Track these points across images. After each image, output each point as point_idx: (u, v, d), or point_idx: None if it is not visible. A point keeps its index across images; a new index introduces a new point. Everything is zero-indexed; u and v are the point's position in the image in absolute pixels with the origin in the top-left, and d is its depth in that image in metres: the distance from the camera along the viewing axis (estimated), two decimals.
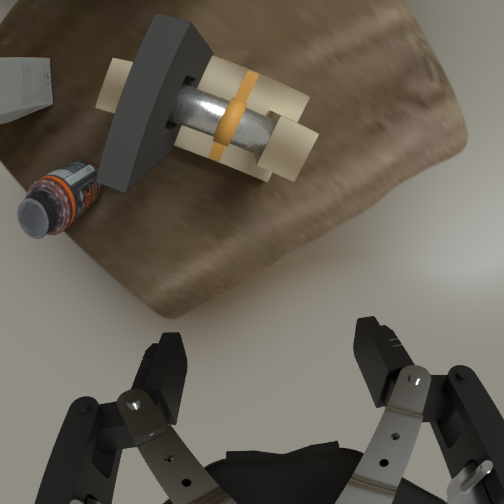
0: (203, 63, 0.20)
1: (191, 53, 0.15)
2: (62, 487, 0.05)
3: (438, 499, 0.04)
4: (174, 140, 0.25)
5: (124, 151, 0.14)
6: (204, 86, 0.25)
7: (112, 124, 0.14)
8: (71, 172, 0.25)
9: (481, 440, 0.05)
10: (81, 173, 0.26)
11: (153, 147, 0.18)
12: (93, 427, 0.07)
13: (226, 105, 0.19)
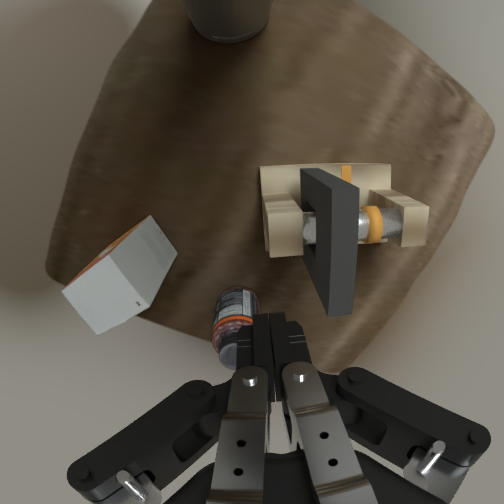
0: None
1: None
2: (123, 455, 0.06)
3: (438, 499, 0.04)
4: None
5: (345, 290, 0.22)
6: None
7: (331, 277, 0.21)
8: (240, 304, 0.35)
9: (415, 428, 0.07)
10: (246, 301, 0.36)
11: None
12: (193, 416, 0.08)
13: (367, 216, 0.26)
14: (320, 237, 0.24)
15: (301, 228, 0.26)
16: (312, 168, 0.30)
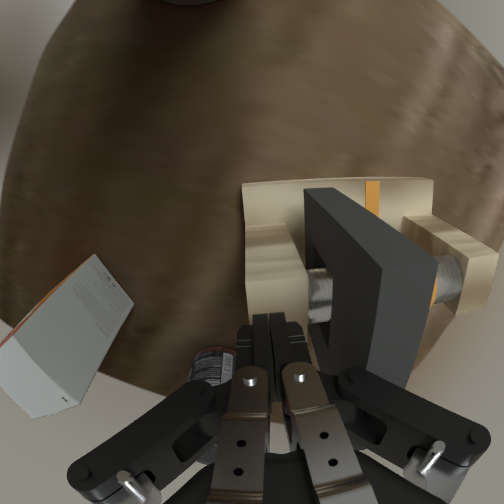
0: None
1: None
2: (123, 455, 0.06)
3: (438, 499, 0.04)
4: None
5: None
6: None
7: None
8: (217, 379, 0.24)
9: (415, 428, 0.07)
10: (226, 373, 0.25)
11: None
12: (194, 416, 0.08)
13: None
14: (340, 330, 0.12)
15: (305, 303, 0.15)
16: (324, 189, 0.18)
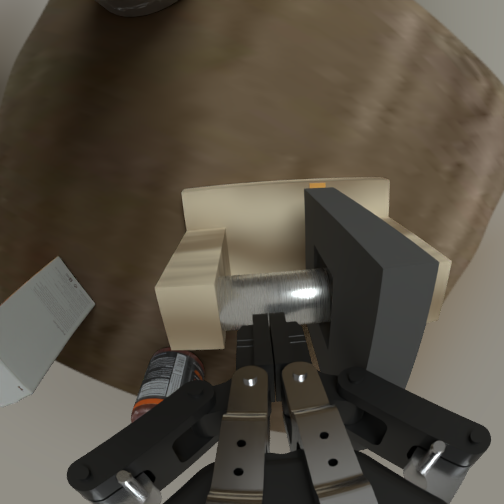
0: None
1: None
2: (123, 455, 0.06)
3: (438, 499, 0.04)
4: None
5: None
6: (268, 227, 0.23)
7: None
8: (167, 379, 0.24)
9: (415, 428, 0.07)
10: (177, 374, 0.25)
11: None
12: (193, 415, 0.08)
13: None
14: (340, 330, 0.12)
15: (215, 310, 0.15)
16: (324, 189, 0.18)
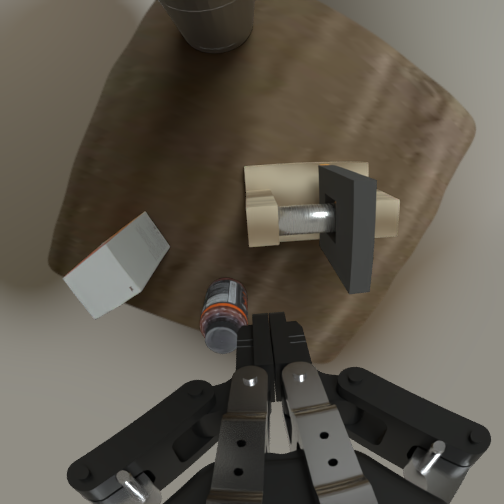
0: None
1: None
2: (123, 455, 0.06)
3: (438, 499, 0.04)
4: None
5: (364, 269, 0.25)
6: (295, 190, 0.37)
7: (352, 257, 0.24)
8: (226, 293, 0.38)
9: (415, 428, 0.07)
10: (232, 291, 0.39)
11: None
12: (193, 416, 0.08)
13: None
14: (341, 224, 0.27)
15: (276, 220, 0.29)
16: (329, 165, 0.33)
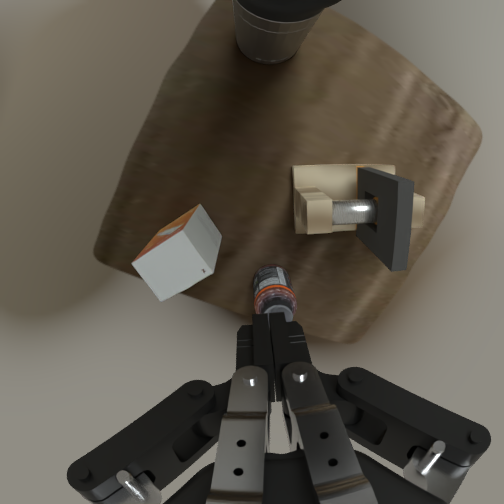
0: None
1: None
2: (123, 455, 0.06)
3: (438, 499, 0.04)
4: None
5: (403, 251, 0.30)
6: (336, 187, 0.42)
7: (395, 241, 0.29)
8: (276, 277, 0.43)
9: (415, 428, 0.07)
10: (281, 275, 0.44)
11: None
12: (194, 415, 0.08)
13: None
14: (383, 216, 0.32)
15: (331, 212, 0.34)
16: (367, 167, 0.38)
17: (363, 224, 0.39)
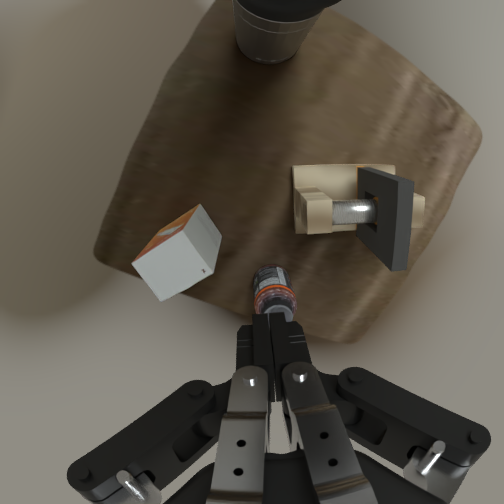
0: None
1: None
2: (123, 455, 0.06)
3: (438, 499, 0.04)
4: None
5: (403, 251, 0.30)
6: (336, 187, 0.42)
7: (395, 241, 0.29)
8: (276, 277, 0.43)
9: (415, 428, 0.07)
10: (281, 275, 0.44)
11: None
12: (193, 415, 0.08)
13: None
14: (383, 215, 0.32)
15: (331, 212, 0.34)
16: (367, 167, 0.38)
17: (363, 224, 0.39)
